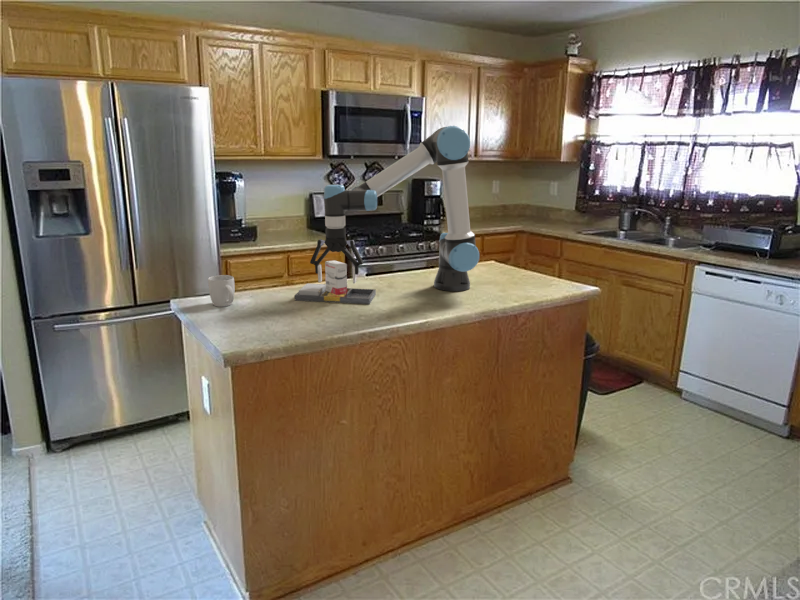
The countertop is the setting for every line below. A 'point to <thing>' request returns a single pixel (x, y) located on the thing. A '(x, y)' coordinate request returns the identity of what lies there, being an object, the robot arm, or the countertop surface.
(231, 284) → the mug
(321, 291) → the panel
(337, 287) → the ink box
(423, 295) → the countertop surface
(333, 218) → the robot arm
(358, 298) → the rack
